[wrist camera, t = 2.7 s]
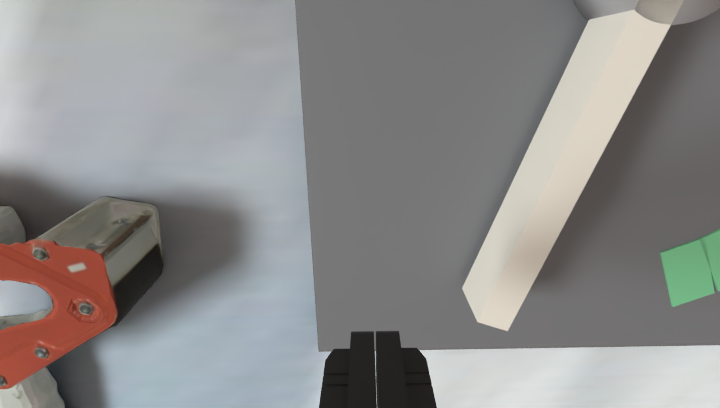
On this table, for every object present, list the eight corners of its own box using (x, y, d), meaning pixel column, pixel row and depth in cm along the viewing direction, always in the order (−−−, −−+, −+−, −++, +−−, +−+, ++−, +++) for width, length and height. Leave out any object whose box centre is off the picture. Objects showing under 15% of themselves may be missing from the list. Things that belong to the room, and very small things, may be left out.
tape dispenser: (81, 445, 30) (267, 300, 25) (26, 525, 25) (241, 367, 20) (-161, 294, 25) (3, 71, 20) (-290, 358, 20) (-119, 84, 15)
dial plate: (293, -93, 18) (287, -108, 16) (947, -112, 17) (1003, -130, 16) (321, 335, 25) (318, 352, 23) (788, 327, 24) (816, 344, 23)
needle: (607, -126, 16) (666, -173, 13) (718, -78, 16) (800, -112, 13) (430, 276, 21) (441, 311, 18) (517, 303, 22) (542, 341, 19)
